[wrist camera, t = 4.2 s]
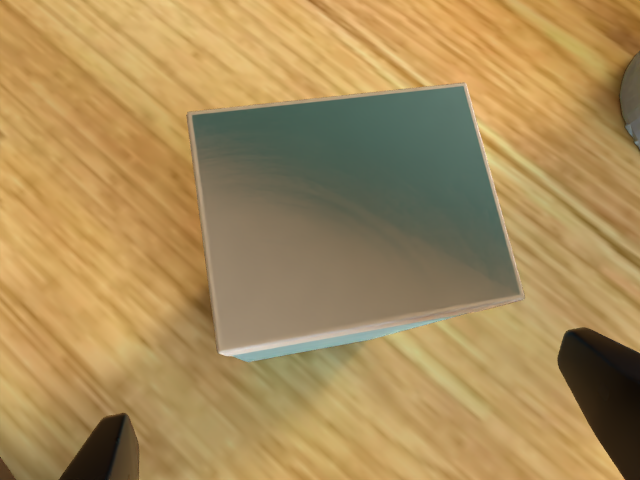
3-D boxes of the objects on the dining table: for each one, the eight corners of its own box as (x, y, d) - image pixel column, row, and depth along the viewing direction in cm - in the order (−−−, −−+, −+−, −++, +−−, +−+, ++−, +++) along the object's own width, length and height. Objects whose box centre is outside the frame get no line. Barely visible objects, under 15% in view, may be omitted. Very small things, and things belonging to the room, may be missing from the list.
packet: (370, 340, 20) (527, 299, 8) (245, 362, 19) (217, 354, 7) (350, 244, 21) (466, 80, 9) (231, 263, 20) (185, 110, 8)
